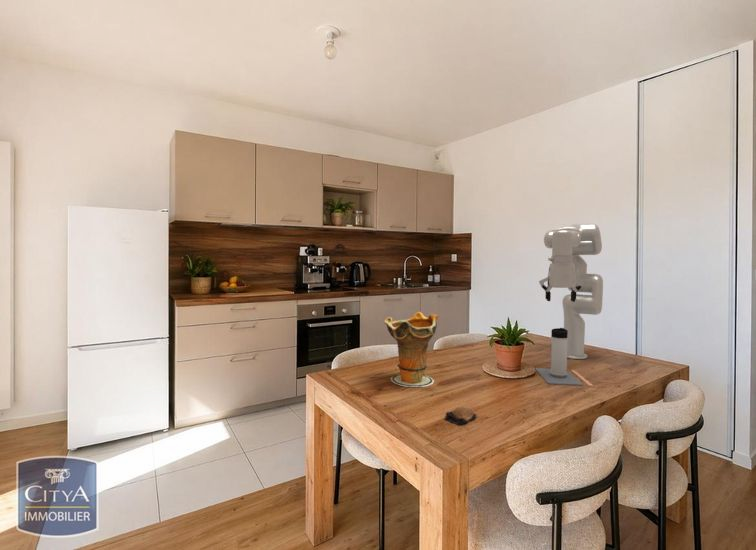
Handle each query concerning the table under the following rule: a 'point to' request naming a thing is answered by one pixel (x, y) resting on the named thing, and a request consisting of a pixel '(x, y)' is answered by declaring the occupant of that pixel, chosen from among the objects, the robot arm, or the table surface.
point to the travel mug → (559, 353)
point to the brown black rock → (460, 416)
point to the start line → (582, 378)
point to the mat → (558, 381)
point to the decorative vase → (412, 348)
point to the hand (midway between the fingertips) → (560, 301)
